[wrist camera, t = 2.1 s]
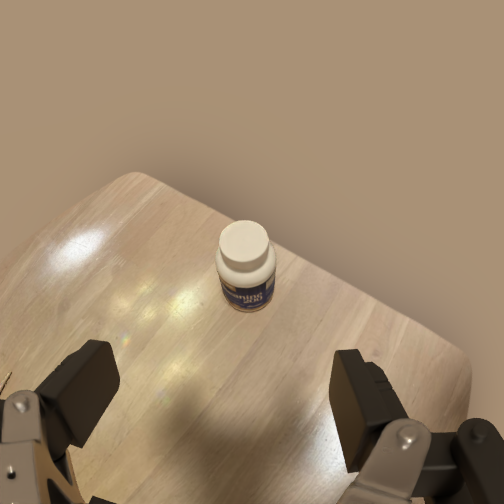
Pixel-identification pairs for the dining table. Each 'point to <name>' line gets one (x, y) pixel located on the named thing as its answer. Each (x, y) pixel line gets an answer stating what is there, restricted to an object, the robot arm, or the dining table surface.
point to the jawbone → (4, 381)
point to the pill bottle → (246, 265)
